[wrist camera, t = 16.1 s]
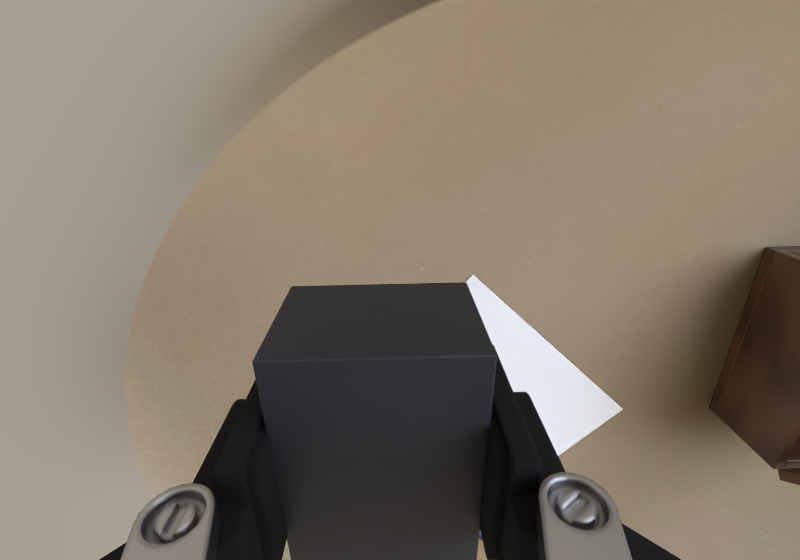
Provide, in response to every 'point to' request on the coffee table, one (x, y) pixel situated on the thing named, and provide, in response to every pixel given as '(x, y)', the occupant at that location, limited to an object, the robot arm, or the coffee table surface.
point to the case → (767, 364)
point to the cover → (790, 475)
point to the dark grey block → (379, 419)
